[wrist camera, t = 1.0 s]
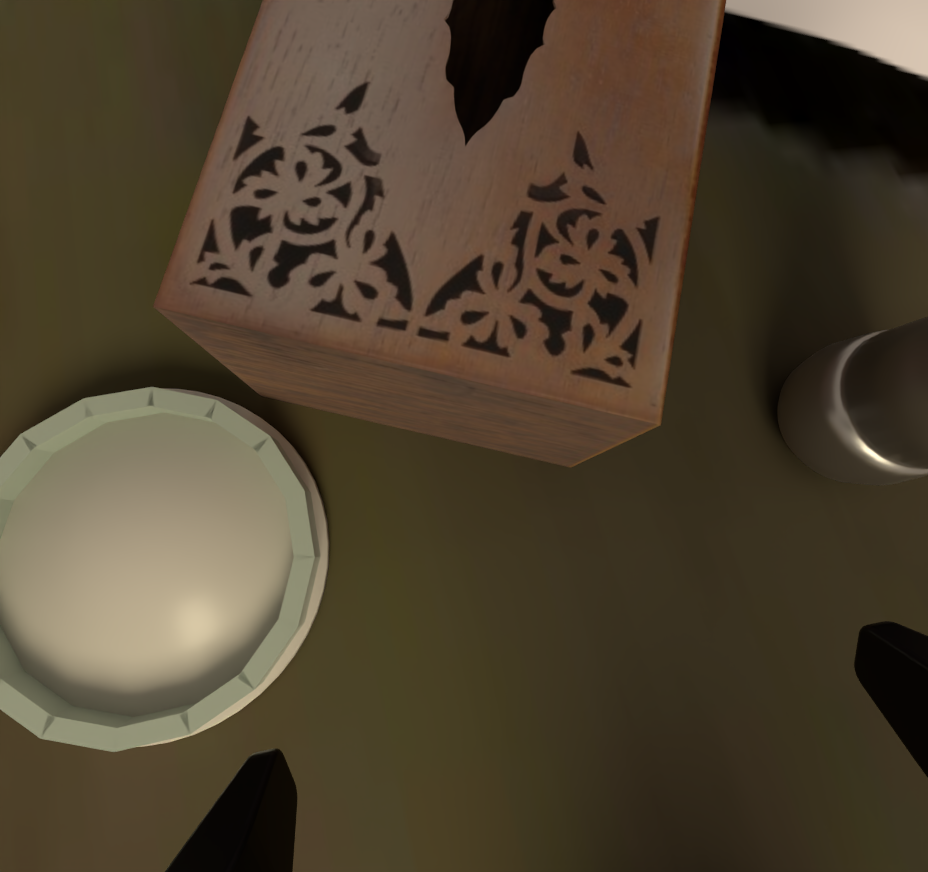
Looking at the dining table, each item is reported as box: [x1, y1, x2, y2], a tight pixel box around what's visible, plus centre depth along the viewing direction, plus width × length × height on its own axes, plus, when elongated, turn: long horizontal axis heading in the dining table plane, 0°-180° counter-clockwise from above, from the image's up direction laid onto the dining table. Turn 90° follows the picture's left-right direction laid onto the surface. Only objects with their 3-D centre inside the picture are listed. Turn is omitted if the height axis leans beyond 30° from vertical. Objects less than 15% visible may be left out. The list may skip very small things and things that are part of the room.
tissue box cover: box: [153, 0, 726, 467], centre depth 22 cm, size 26×14×10 cm, turn 168°
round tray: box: [0, 387, 330, 752], centre depth 22 cm, size 14×14×2 cm
